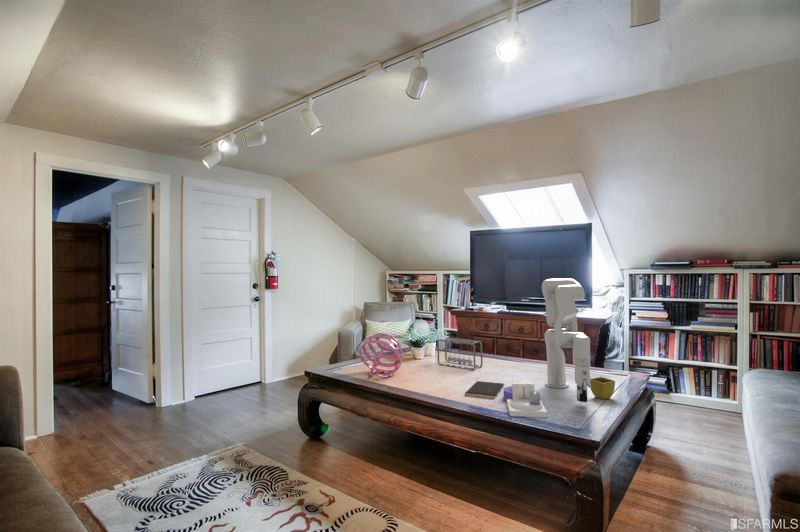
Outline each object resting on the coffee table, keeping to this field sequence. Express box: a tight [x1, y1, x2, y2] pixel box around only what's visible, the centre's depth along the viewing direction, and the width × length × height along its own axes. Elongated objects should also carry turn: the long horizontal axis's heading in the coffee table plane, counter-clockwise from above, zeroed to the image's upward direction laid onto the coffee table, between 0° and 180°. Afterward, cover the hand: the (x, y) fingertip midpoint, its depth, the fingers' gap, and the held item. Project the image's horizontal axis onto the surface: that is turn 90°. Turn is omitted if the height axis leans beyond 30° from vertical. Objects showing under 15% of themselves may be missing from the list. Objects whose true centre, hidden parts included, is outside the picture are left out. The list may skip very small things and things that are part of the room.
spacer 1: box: [530, 390, 541, 405], centre depth 188 cm, size 5×5×5 cm
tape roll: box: [502, 385, 513, 401], centre depth 206 cm, size 12×12×5 cm
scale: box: [506, 382, 548, 418], centre depth 190 cm, size 18×16×10 cm
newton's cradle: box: [436, 337, 484, 370], centre depth 278 cm, size 30×10×18 cm, turn 49°
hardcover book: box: [464, 380, 505, 400], centre depth 220 cm, size 16×23×2 cm
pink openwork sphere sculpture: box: [358, 332, 404, 378], centre depth 258 cm, size 28×28×27 cm
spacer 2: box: [576, 388, 584, 402], centre depth 193 cm, size 5×5×5 cm
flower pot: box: [589, 376, 616, 400], centre depth 204 cm, size 9×9×9 cm
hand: (582, 399), depth 193 cm, fingers closed on spacer 2, 4 cm apart
